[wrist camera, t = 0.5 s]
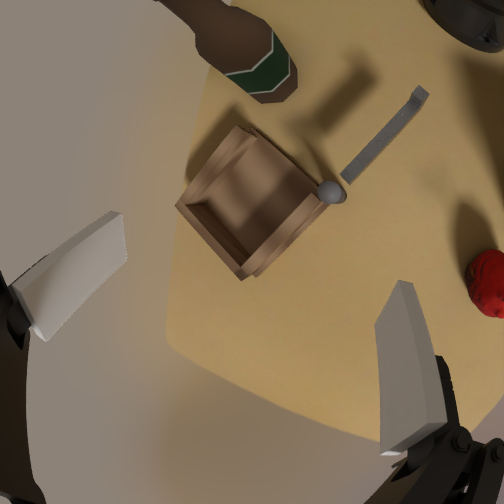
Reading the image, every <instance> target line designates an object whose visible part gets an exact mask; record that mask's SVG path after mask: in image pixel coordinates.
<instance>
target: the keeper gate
mask: <svg viewBox="0 0 504 504" xmlns="http://www.w3.org/2000/svg"><path fill="white" fill-rule="evenodd" d="M428 96H429V93H428V92H426V91H425V90H424V89H423V88H422V87H421V86H420V85H419V86H418V87H417V88H416V89H415V90H414V91H413V92H412V94H411V96H410V99H409V101H408V102H407V103H406V104H405V105H404V106H403V107H402V108H401V109H400V110H399V111H398V113H397V114H396V115H395V116H394V117H393V118H392V119H391V120H390V121H389V122H388V123H387V124H386V125H385V126H384V128H383V129H382V130H381V131H380V132H379V133H378V134H377V135H376V136H375V137H374V138H373V139H372V140H371V141H370V142H369V143H368V145H367V146H366V147H365V148H364V149H363V150H362V151H361V152H360V153H359V154H358V155H357V156H356V157H355V158H354V159H353V160H352V161H351V162H350V164H349V165H348V166H347V167H346V168H345V169H344V170H343V171H342V172H341V173H340V175H341V177H342V178H343V179H344V180H345V181H346V182H347V183H348V184H349V185H351V184H352V183H353V182H354V181H355V180H356V179H357V178H358V177H359V176H360V174H361V173H362V172H363V171H364V170H365V169H366V168H367V167H368V166H369V165H370V164H371V163H372V162H373V161H374V160H375V159H376V158H377V157H378V155H379V154H380V153H381V152H382V151H383V150H384V149H385V148H386V147H387V146H388V145H389V144H390V143H391V142H392V141H393V139H394V138H395V137H396V136H397V135H398V134H399V133H400V132H401V131H402V130H403V129H404V128H405V126H406V125H407V124H408V123H409V122H410V121H411V120H412V119H413V118H414V117H415V115H416V114H417V113H418V112H419V111H420V110H421V108H422V107H423V105H424V103H425V101H426V100H427V98H428Z"/></svg>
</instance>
